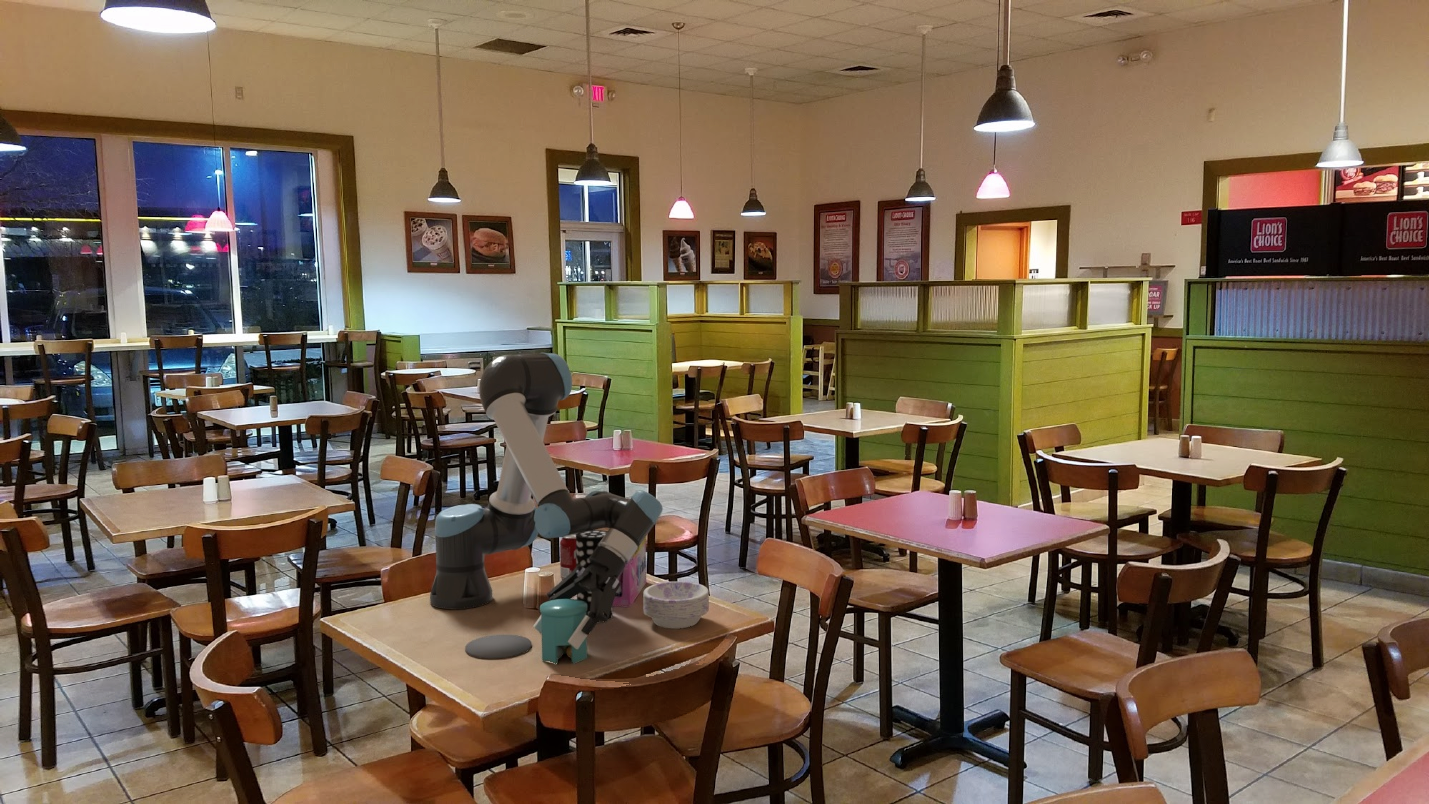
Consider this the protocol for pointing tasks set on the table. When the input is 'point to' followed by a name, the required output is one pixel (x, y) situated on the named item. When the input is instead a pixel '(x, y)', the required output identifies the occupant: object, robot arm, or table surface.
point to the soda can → (567, 555)
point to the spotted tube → (584, 550)
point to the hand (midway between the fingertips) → (554, 638)
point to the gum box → (632, 578)
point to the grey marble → (559, 651)
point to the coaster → (498, 646)
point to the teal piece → (561, 627)
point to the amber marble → (569, 651)
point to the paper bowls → (676, 603)
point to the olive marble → (564, 648)
